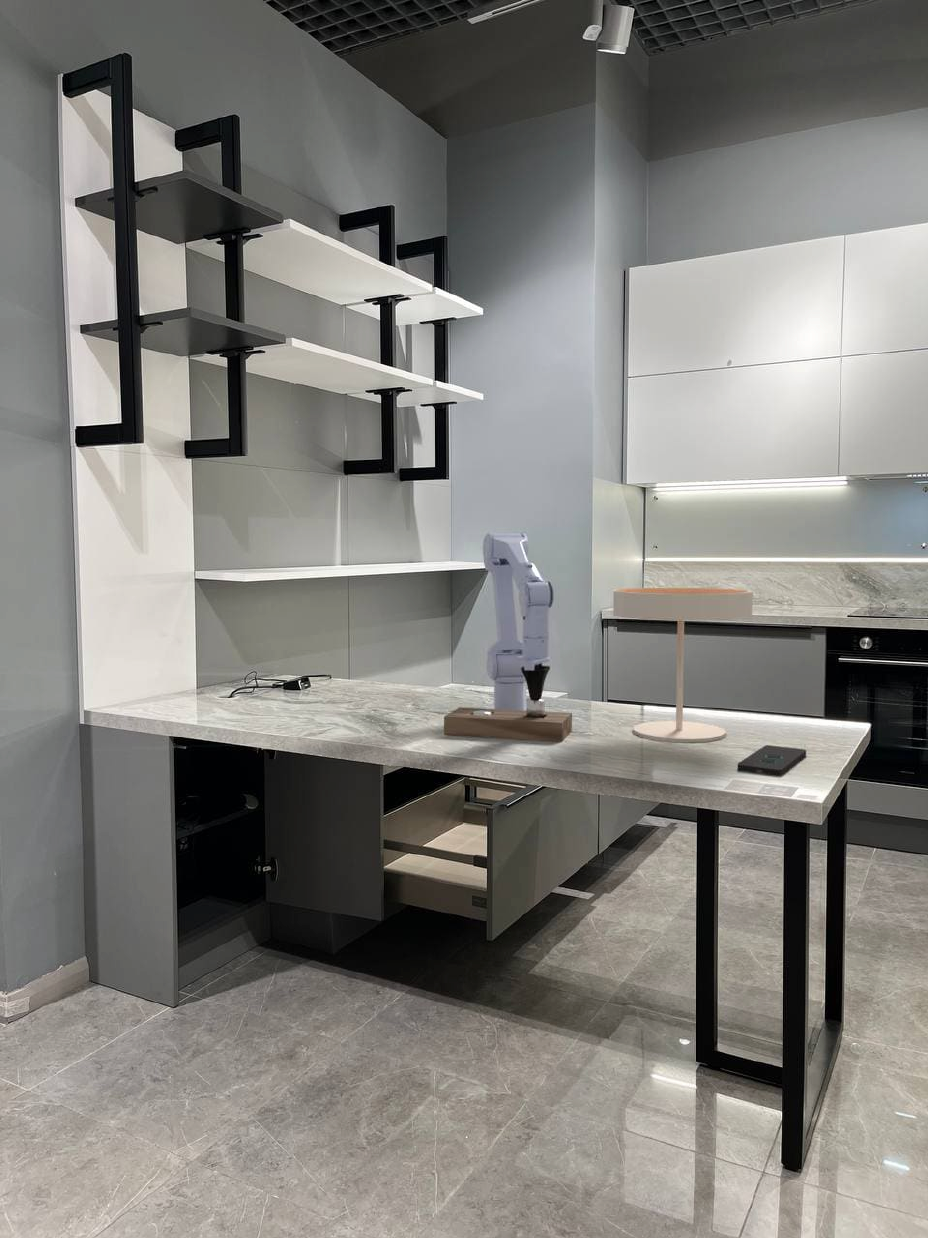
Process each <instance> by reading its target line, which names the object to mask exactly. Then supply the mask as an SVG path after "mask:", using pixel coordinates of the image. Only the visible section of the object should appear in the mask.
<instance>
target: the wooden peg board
mask: <svg viewBox="0 0 928 1238" xmlns="http://www.w3.org/2000/svg"><path fill="white" fill-rule="evenodd" d="M474 711H490V712H491V715H490V716H486V715H473V712H474ZM572 731H573V712H565V711H564V712H563V711H559V712H558V711H545V718H526V711H524V710H503V709H494V708H483V707H482V708H479V707H460V706H459V707H458V708H456V709H455V710H453V711H451V712H449V713H447V714H446V715H444V716H443V735H444V736H445V735H447V736H457V737H458V736H461V737H478V738H479V737H480V738H494V739H495V738H496V739H510V740H511V739H513V740H514V739H515V740H531V741H544V742H545V741H547V742H563V741H564V740H565V739H566V738H567V737H568V736H569V735H570V733H571V732H572Z"/></svg>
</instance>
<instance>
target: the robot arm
mask: <svg viewBox="0 0 928 1238" xmlns="http://www.w3.org/2000/svg"><path fill="white" fill-rule="evenodd" d="M482 552H483V553H482V554H483V556H482V557H483V565H484V569H485V571H488V572H489V573H490V574H491V578H492V585H493V586H492V587H493V598H494V609H495V621H496V636H497V641H495V642H494V643H492V645H490V646H489V648H488V650H487V652H486V655H487V656H486V657H487V658H486V659H487V660H486V671H487V675H488V677H489V679H490V680H492V681H493V709H503V710H524V711H526V699H527V690H528V695H529V698H530V699H531V700H540V699H542V695H543V692H544V687H545V686H544V685H545V682H546V678H547V676H548V673H549V671H550V668H551V666H549V665H543V663H544V664H545V663H549V662H550V661H551V658H550V608H551V607H552V606H553V603H554V598H555V597H554V594H555V593H554V587H553V585H552V582H551V581H550V580H546V579H543V577H542V576H541V574H540V572H539V570H538V569H537V566H536V564H534V563H532V562H529V559H528V557H527V556H528V553H529V540H528V537H527V535H526V534H525V532H521V533H491V532H488V533H486V535H485V536H484V539H483V544H482ZM514 583H515V586H516V587H517V589H518V601H519V605H520V607H519V608H520V616H522V640H520V639H519V638H518V628H517V627H518V625H517V615H516V604H515V593H514V591H515V590H514ZM525 683H526V685H525ZM526 686H527V687H526Z"/></svg>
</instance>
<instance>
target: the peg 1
mask: <svg viewBox="0 0 928 1238" xmlns="http://www.w3.org/2000/svg"><path fill="white" fill-rule="evenodd" d="M473 715H486V716H490V715H491V712H490V711H474V712H473Z"/></svg>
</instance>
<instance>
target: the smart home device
mask: <svg viewBox="0 0 928 1238" xmlns="http://www.w3.org/2000/svg"><path fill="white" fill-rule="evenodd" d="M806 757H807V750H806V749H804V748H797V747H796V748H795V747H788V746H779V745H770V744H769V745H768V744H766V745H764V746H762V747H760V748H759V749H757V750H756V751H754V752H753V753H751V754H750V755H748V756H747V757H746V758H744V759H743V760H741V761H739V762H738V763H737V771H739V772H746V773H752V774H762V775H769V776H777V777H780V776H781V777H782V776H783V775H784V774H786V773H787V772H788V771H790V769H792V768H793V767H794V766H795V765H797V764H798V763H799V762H801V761H802V760H803V759H805V758H806Z"/></svg>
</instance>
